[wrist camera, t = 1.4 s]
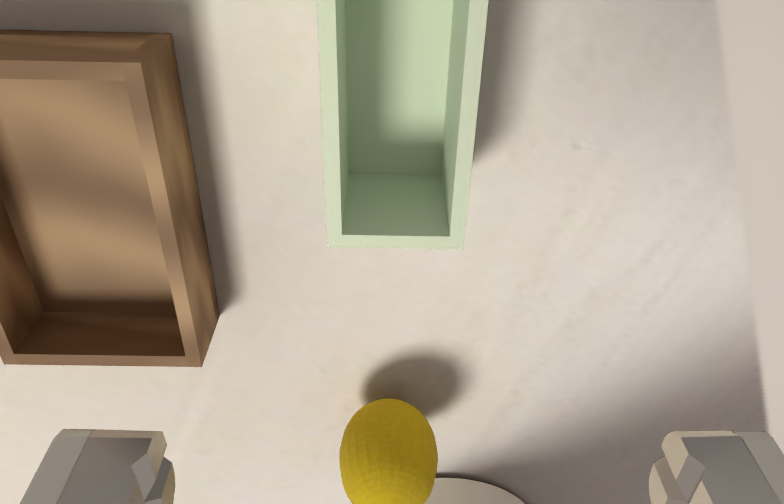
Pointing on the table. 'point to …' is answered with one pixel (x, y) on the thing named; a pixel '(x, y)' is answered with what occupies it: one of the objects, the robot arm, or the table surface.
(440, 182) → the sage crate
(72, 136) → the walnut crate
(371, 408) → the lemon
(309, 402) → the table surface
